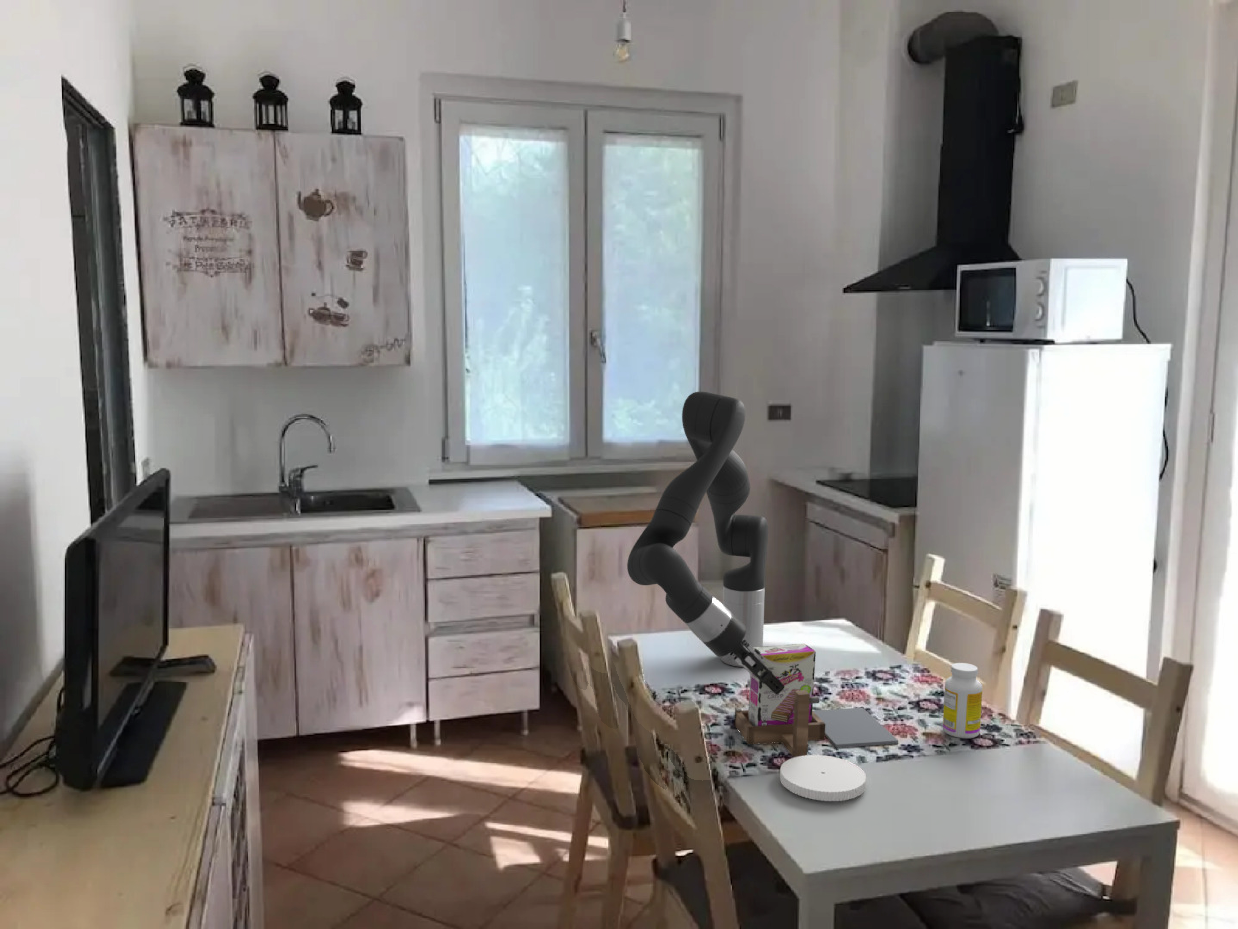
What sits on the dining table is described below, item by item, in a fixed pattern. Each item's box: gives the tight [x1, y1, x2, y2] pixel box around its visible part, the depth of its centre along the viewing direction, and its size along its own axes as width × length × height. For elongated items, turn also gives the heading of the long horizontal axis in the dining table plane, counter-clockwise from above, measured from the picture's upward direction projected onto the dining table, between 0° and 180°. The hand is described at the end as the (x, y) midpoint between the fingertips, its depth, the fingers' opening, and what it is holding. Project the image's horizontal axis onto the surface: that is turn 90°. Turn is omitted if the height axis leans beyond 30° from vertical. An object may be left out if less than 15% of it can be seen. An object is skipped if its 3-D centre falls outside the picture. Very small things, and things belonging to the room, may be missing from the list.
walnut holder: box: [734, 690, 826, 758], centre depth 193 cm, size 24×15×12 cm, turn 10°
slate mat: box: [812, 707, 899, 749], centre depth 196 cm, size 16×12×1 cm
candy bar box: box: [748, 643, 817, 726], centre depth 192 cm, size 11×5×16 cm, turn 107°
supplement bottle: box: [942, 662, 983, 739], centre depth 194 cm, size 7×7×13 cm
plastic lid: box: [779, 754, 867, 802], centre depth 172 cm, size 14×14×2 cm
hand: (773, 682), depth 192 cm, fingers open, 8 cm apart
